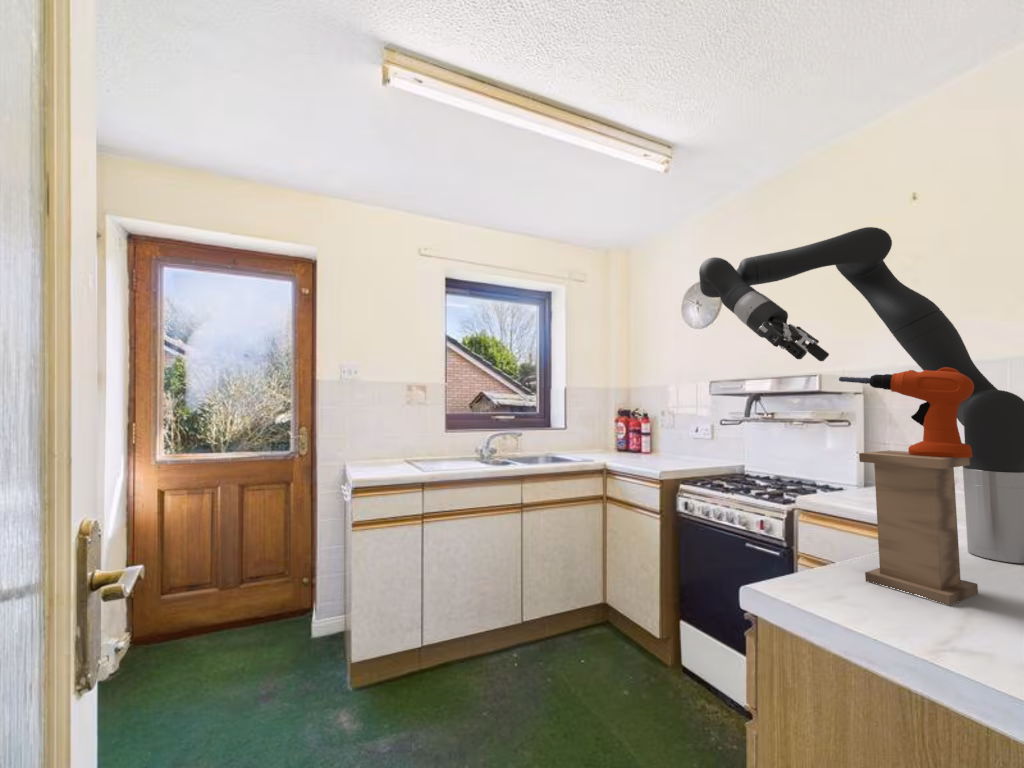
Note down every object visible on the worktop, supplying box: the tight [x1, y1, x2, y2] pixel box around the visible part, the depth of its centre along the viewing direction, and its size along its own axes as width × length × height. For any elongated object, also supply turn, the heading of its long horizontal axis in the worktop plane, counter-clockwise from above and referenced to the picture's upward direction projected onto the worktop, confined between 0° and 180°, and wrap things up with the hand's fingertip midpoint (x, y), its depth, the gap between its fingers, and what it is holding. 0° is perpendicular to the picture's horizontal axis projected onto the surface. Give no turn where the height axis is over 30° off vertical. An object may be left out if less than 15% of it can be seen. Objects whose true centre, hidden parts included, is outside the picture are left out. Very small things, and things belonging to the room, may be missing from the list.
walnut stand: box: [858, 450, 979, 606], centre depth 75 cm, size 10×11×22 cm
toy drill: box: [838, 367, 974, 458], centre depth 78 cm, size 5×19×15 cm, turn 37°
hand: (814, 357), depth 94 cm, fingers open, 8 cm apart
